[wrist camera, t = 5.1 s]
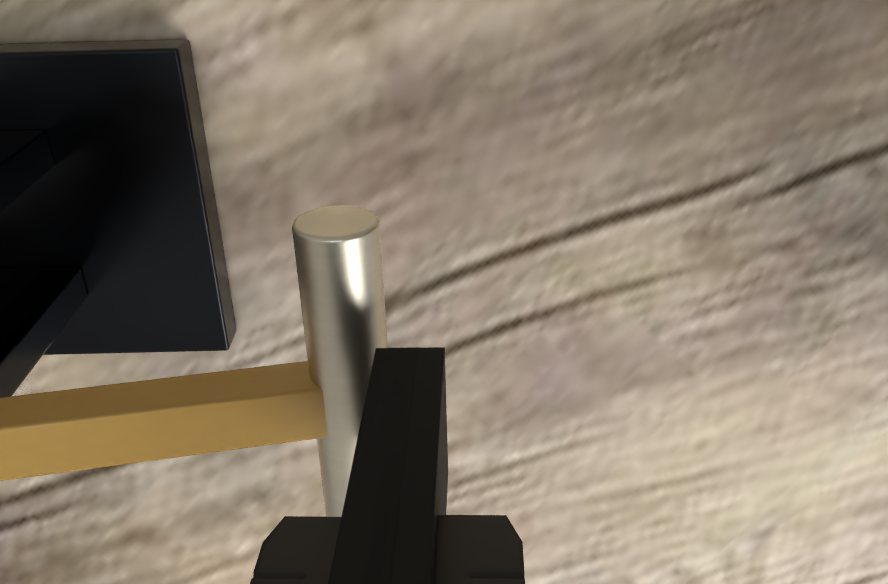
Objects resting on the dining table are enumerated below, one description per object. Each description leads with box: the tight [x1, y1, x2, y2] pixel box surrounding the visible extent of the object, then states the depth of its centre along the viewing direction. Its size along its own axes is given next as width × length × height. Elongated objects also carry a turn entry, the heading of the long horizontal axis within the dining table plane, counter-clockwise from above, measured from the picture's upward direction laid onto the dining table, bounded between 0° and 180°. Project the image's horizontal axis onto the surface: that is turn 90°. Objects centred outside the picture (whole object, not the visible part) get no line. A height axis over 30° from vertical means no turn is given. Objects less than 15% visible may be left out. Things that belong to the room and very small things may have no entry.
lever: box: [0, 205, 388, 517], centre depth 15 cm, size 13×7×2 cm, turn 91°
